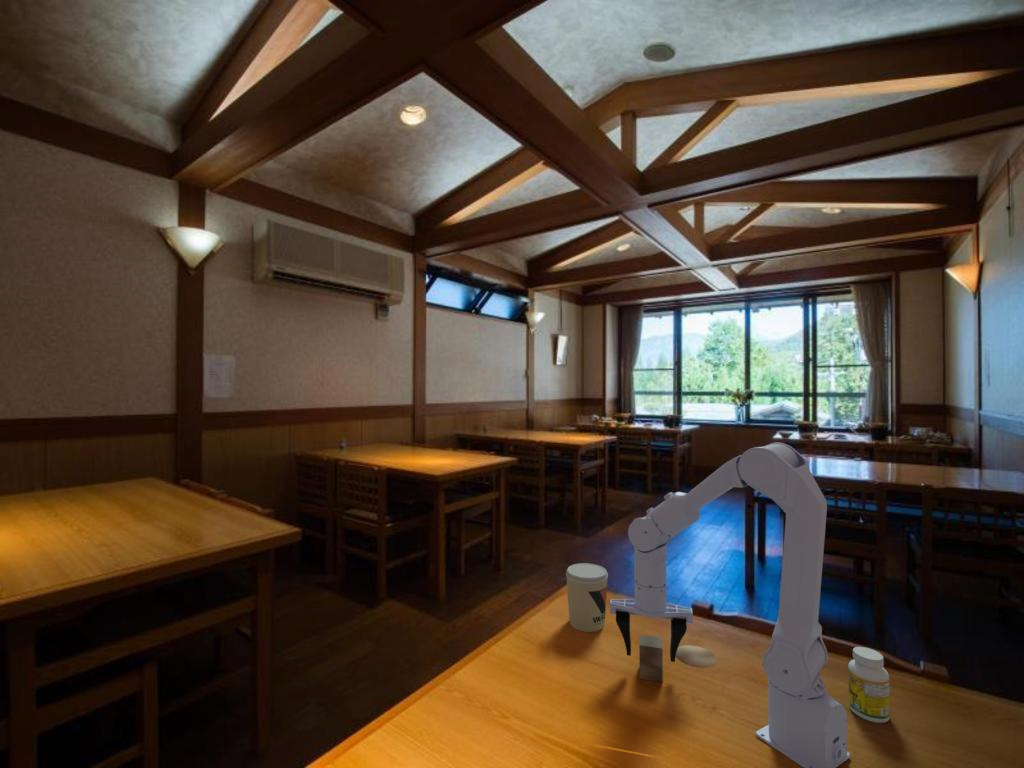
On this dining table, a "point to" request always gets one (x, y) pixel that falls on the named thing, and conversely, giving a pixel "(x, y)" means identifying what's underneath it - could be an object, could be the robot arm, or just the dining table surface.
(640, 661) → the walnut block
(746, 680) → the dining table surface
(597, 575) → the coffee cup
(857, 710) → the supplement bottle
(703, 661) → the cork coaster
